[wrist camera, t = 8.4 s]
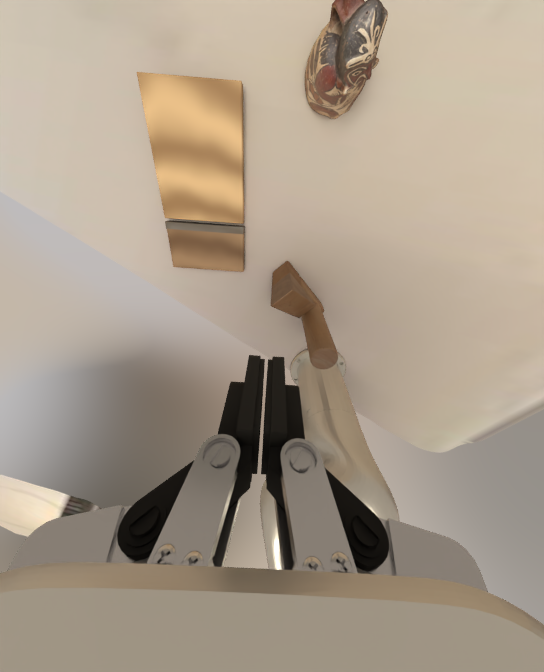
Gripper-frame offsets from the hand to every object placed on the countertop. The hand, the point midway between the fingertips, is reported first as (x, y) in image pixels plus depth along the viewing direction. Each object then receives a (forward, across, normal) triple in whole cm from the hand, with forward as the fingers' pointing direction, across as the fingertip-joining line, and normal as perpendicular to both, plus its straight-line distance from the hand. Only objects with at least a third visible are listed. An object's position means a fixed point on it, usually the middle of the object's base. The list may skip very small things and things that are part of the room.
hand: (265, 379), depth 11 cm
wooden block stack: (+32, -5, +7) cm, 33 cm away
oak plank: (+31, +11, -11) cm, 35 cm away
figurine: (+32, -6, -20) cm, 38 cm away
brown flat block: (+32, +11, 0) cm, 34 cm away
